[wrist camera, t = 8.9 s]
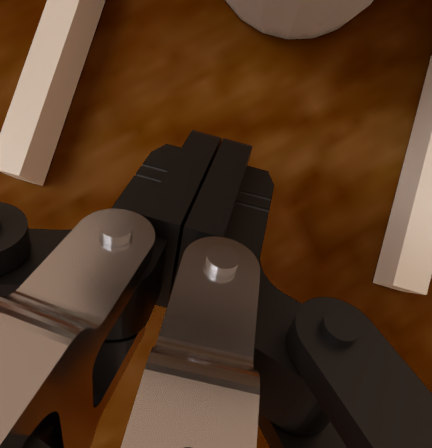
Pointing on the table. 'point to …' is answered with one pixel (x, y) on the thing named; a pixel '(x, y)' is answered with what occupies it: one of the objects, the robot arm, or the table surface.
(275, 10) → the coffee cup
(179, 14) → the table surface
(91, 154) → the table surface
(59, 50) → the guide track
